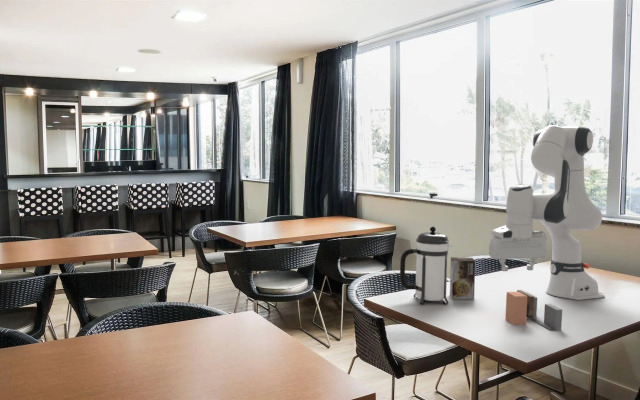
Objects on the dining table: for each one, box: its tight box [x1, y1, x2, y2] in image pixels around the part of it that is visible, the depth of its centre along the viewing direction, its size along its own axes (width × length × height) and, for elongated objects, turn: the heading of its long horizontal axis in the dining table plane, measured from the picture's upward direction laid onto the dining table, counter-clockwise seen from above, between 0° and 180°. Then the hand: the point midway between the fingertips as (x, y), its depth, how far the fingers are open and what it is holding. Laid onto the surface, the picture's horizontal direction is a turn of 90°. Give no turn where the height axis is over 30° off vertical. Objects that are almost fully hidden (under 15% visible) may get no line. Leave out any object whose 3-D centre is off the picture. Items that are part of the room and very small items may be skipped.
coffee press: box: [399, 226, 452, 306], centre depth 207 cm, size 17×16×30 cm
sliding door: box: [516, 289, 535, 317], centre depth 192 cm, size 9×9×7 cm
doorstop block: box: [505, 291, 527, 326], centre depth 184 cm, size 4×6×10 cm
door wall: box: [525, 291, 563, 331], centre depth 186 cm, size 4×22×7 cm, turn 9°
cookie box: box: [449, 256, 476, 300], centre depth 214 cm, size 9×6×16 cm
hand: (517, 270), depth 183 cm, fingers open, 8 cm apart
